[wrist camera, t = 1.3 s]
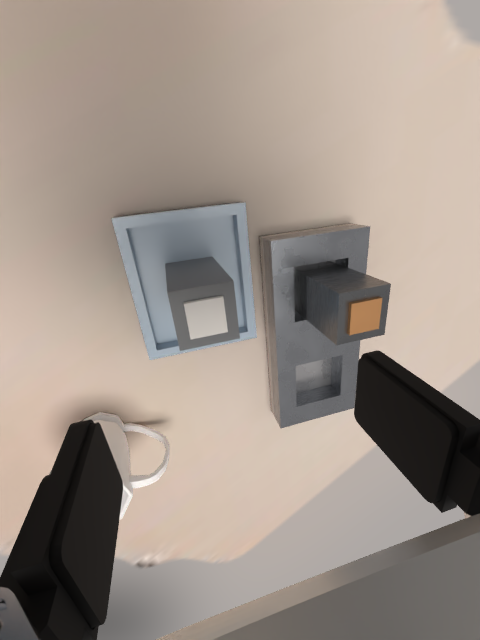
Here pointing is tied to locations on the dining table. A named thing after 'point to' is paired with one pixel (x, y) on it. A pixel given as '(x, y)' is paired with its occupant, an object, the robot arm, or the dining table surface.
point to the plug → (201, 302)
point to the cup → (128, 453)
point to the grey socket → (318, 318)
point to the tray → (179, 245)
